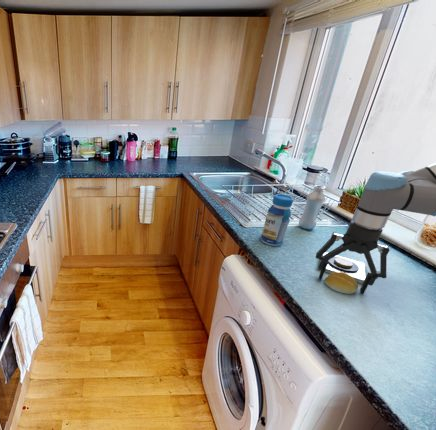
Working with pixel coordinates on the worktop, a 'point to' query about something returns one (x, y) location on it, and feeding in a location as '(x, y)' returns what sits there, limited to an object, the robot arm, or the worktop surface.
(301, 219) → the plastic bottle
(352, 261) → the push button
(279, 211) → the beverage bottle
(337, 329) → the worktop surface
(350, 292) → the bread roll
